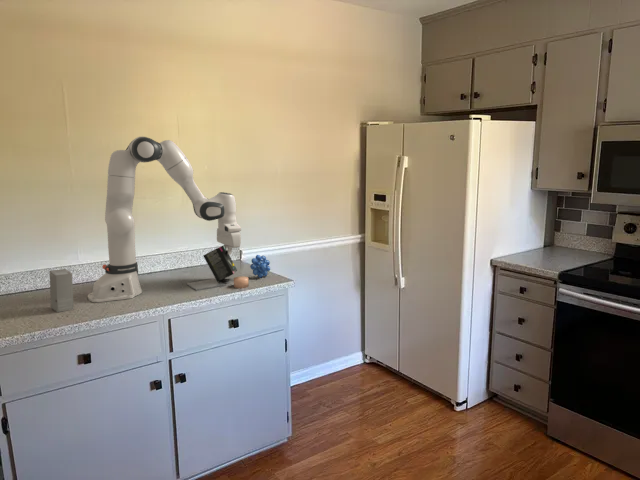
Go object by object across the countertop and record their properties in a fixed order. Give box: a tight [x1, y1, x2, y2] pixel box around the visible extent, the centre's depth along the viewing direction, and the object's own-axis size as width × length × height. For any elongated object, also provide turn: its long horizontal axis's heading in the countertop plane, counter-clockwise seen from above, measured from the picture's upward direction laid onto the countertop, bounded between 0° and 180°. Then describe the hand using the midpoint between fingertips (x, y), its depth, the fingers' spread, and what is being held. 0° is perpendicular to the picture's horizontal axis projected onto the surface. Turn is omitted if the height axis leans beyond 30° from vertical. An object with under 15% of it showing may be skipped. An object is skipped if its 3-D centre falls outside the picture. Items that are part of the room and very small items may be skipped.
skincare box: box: [49, 268, 75, 313], centre depth 197 cm, size 8×7×16 cm
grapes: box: [249, 254, 271, 279], centre depth 243 cm, size 12×7×12 cm, turn 130°
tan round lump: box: [233, 275, 250, 289], centre depth 230 cm, size 7×7×4 cm
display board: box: [186, 278, 226, 291], centre depth 232 cm, size 14×13×1 cm
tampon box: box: [203, 244, 238, 282], centre depth 238 cm, size 11×9×15 cm
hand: (228, 253), depth 236 cm, fingers closed
